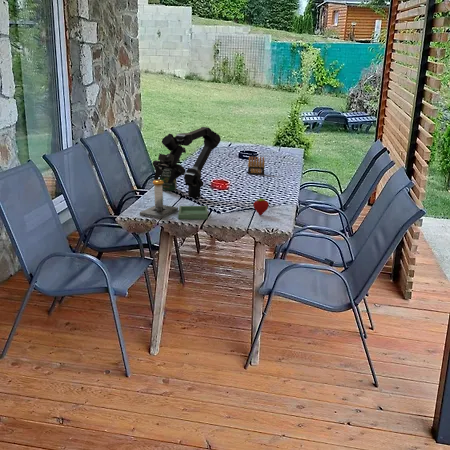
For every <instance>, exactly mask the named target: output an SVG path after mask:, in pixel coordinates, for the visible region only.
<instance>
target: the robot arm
mask: <svg viewBox="0 0 450 450" xmlns="http://www.w3.org/2000/svg"><path fill="white" fill-rule="evenodd" d="M199 138H202V139H203V147H202V149H201V150H200V153H199V154H198V156H197V159H196V161H195V162H194V164H193V165H192V167H188V168H187V169H185V167H183V165H182V164H178V163H180V162H181V160H180V158H181V156H182V154H186V153H187V150H186V147H188V146H190V145H191V144H192V143H193V142H194V141H195V140H198V139H199ZM221 141H222V140H221V136H220V134H219V133H217V132H215V131H214V130H212V129H211V128H210V127H206V126H201V127H200V128H197V129H194V130H192V131H189V132H181V133H177V134H176V135H175V136H174V134H173V133H168V135H166V136H165V135H164V137H163V138H162V139H161V143H162V145H163V146H164V147H165V149H167V150H168V151H170V152H169V153H167V154H163V153H159V154H158V158H157V160H153V161H152V163H151V165H152V166H153V168H154V177H153V179H154V180H159V179H160V176H161V174H162V173H163V171H162V170H164V168H166V169H171V170H172V173H171V176H170V178H169V180H168V184H169V183H171V182H172V181H173V180H175V179H176V180H177V178H179V177H182V176H183V175H184V176H183V180H184V183H185V186H188V187H187V192H188V194H186V197H187V196H188V197H187V198H190V197H192V199H197V198H196V197H198V198H201V197H200V196H202V197H203V195H202V194H201V188H202V187H203V186H204V184H205V183H204V181H203V180H202V170H203V168H204V166H205V165H206V163H207V161H208V159H209V157H210V155H211V153H212V152H213V150H214V149H215V148H217V147H218V146H219V144H220V142H221ZM184 146H185V147H184ZM160 160H162V162H163V163H165V164H163V163H162V162H160ZM154 180H153V181H154Z"/></svg>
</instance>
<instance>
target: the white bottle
mask: <svg viewBox="0 0 450 450" xmlns="http://www.w3.org/2000/svg"><path fill="white" fill-rule="evenodd" d="M162 184H164V181H163V180H160V179H157V180H153V181H152V185H153V191H154V206H155V211H157V212H162V211H163V205H164V193H163V192H164V190H163V185H162Z"/></svg>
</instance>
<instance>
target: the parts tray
mask: <svg viewBox="0 0 450 450" xmlns="http://www.w3.org/2000/svg"><path fill="white" fill-rule="evenodd" d="M177 214H178V215H177V216H178V217H177V218H178V220H208V219H209V218H208V217H209V215H208V214H209V212H208V205H179V207H178V213H177Z"/></svg>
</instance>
